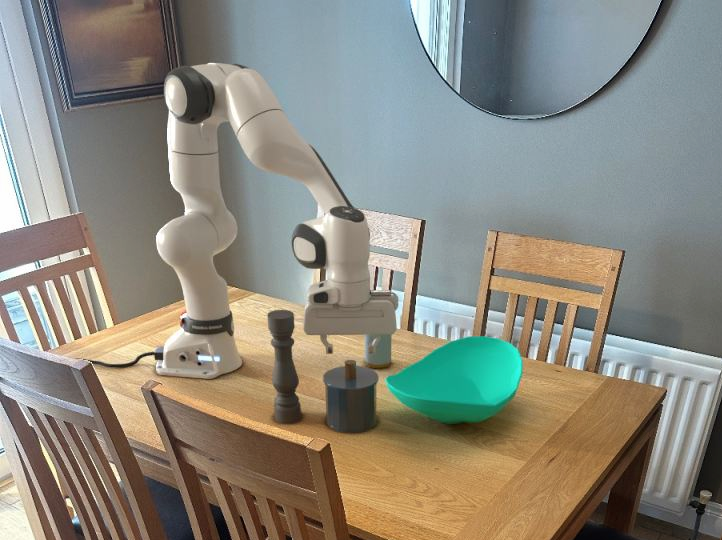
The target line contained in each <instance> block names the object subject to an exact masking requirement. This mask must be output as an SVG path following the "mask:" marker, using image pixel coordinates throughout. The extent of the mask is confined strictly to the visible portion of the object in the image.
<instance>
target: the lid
mask: <svg viewBox="0 0 722 540" xmlns="http://www.w3.org/2000/svg"><path fill="white" fill-rule="evenodd" d="M379 380H380V378H379V374H378V373H377V372H376V371H375V370H374V369H373V368H370V367H366V366H362V365H357V360H354V359H346V360H344V365H342V366H337V367H333V368H331V369H329V370H327V371H325V372H324V374H323V375H322V382H323V384H324V386H325V385H327V386H328V387H330V388H332V389H336V390H340V391H360V390H365V389H368V388H371V387H373V386H374V385H376V386H377V384H378V382H379Z"/></svg>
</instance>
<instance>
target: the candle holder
mask: <svg viewBox="0 0 722 540" xmlns="http://www.w3.org/2000/svg"><path fill="white" fill-rule="evenodd" d="M266 315H267V324H268V325H267V327H268V331H269V333H270V335H271V336H272V339H271V340H270V344H271V346H272V347H273V349H274V364H273V371H272V376H271V383H272V386H273V388H274V390H275V391H276V395H275V398H274V404H273V411H274V419H275V421H276V422H277V423H280V424H284V425H285V424H287V425H289V424H294V423H297V422H299V421H300V420H301V419H302V409H301V408H302V407H301V402H300V398H299V395H298V394H297V393H296V392H297V388H298V386H299V384H300V378H299V375H298V372H297V369H296V366H295V362H294V360H293V346H294V345H295V339H294V338H292V336H293V334H294V330H295V327H296V326H295V314H294V312H293V311H291V310H287V309H275V310H272V311H271V310H270V311H269V312H268V313H267V314H266Z"/></svg>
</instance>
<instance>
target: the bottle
mask: <svg viewBox="0 0 722 540" xmlns="http://www.w3.org/2000/svg"><path fill="white" fill-rule="evenodd" d="M392 335H393V334H390V335H380V341H379V342H378V344H377V346H375V348H376V353H369V343H373V341H374V335H364V361H365V364H366V365H367V367H368V368H370V369H385V368H387V367H389V366H390V365H391V363H392V337H393V336H392Z"/></svg>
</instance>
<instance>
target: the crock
mask: <svg viewBox="0 0 722 540" xmlns="http://www.w3.org/2000/svg"><path fill="white" fill-rule="evenodd" d="M324 391H325V393H324V394H325V409H326V410H325V415H326V416H325V417H326V424H327V426H328V427H329V428H330V429H332V430H334V431H336V432H340V433H345V434H355V433H362V432H366V431H368V430H371V429H372V428H373V427H374V426H375V425H376V424H377V384H376V385H374V386H373V387H371V388H368V389H365V390H360V391H340V390H336V389H332V388H330V387H328V386H327V385H325V384H324Z"/></svg>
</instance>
